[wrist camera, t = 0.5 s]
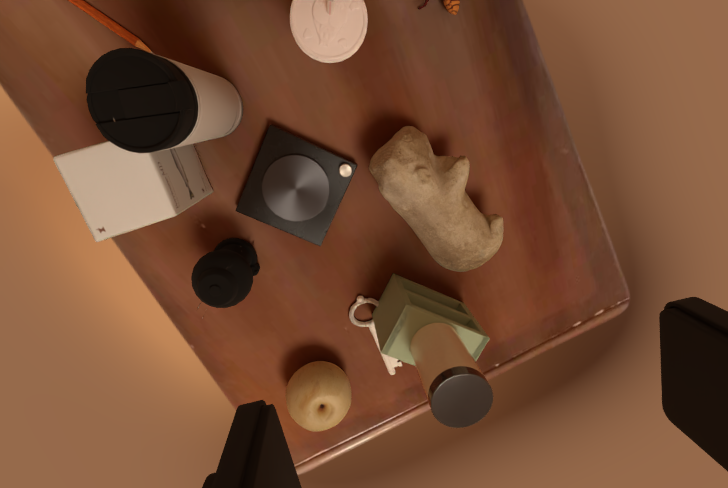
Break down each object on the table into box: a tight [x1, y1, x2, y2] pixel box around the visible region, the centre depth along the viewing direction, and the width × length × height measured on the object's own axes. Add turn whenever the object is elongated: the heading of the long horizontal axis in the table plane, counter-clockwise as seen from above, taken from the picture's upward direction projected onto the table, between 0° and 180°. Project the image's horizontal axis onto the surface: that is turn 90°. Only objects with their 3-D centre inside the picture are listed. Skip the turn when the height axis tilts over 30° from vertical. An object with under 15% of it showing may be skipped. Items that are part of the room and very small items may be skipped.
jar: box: [410, 323, 493, 428], centre depth 41 cm, size 5×5×9 cm
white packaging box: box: [54, 141, 213, 242], centre depth 40 cm, size 7×7×13 cm
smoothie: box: [290, 0, 368, 63], centre depth 37 cm, size 6×6×14 cm
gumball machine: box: [191, 238, 260, 308], centre depth 45 cm, size 7×6×10 cm
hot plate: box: [236, 124, 357, 246], centre depth 47 cm, size 10×10×2 cm
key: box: [349, 296, 402, 375], centre depth 54 cm, size 12×1×4 cm
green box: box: [372, 273, 489, 366], centre depth 49 cm, size 6×10×9 cm, turn 65°
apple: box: [286, 361, 351, 431], centre depth 52 cm, size 8×8×8 cm
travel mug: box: [86, 48, 243, 153], centre depth 35 cm, size 6×7×20 cm
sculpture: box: [369, 126, 504, 272], centre depth 46 cm, size 9×17×10 cm
